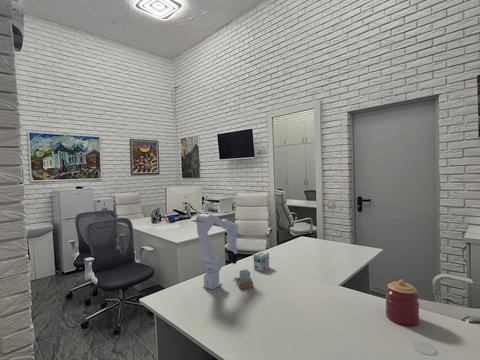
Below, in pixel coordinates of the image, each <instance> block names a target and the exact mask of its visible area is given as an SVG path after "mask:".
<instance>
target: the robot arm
mask: <svg viewBox="0 0 480 360" xmlns="http://www.w3.org/2000/svg"><path fill="white" fill-rule="evenodd" d="M195 224H196V234H197V236H198V239H199V241H200V244H201V247H202V250H203V253H204V255H205V257H204V259H203V262H204V263H203V265H204V268H205V269H206V273H205V274H204V275H203V285H202V288H205V289H209V290H215V289H216V288H218V287H220V286H222V285H223V283H222V282H220V271H221V270H222V267H223V264H222V263H223V262H222V261H221V260H220V258H219V257H218V256H217V255H216V254H215V250H214V248H213V245H212V242H211V239H210V236H209V233H208V232H209V231H210V230H211V229H212V227H213V225H214V224H217V225H219V227H220V228H222V229H223V230H225V231H226V232H227V249H225V251H226V254H227V257H228V260H229V261H231V263H232V264H233V265H235V264H237V260H238V256H239V255H240V252H238V249H239V247H238V246H237V234H238V231H239V226H238V224H237V223H234V222H233V221H230V220H229V219H228V218H223V219H222V218H219V217H217V216H215V215H213V214H204V213H199V214H197V216H196V218H195Z"/></svg>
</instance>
